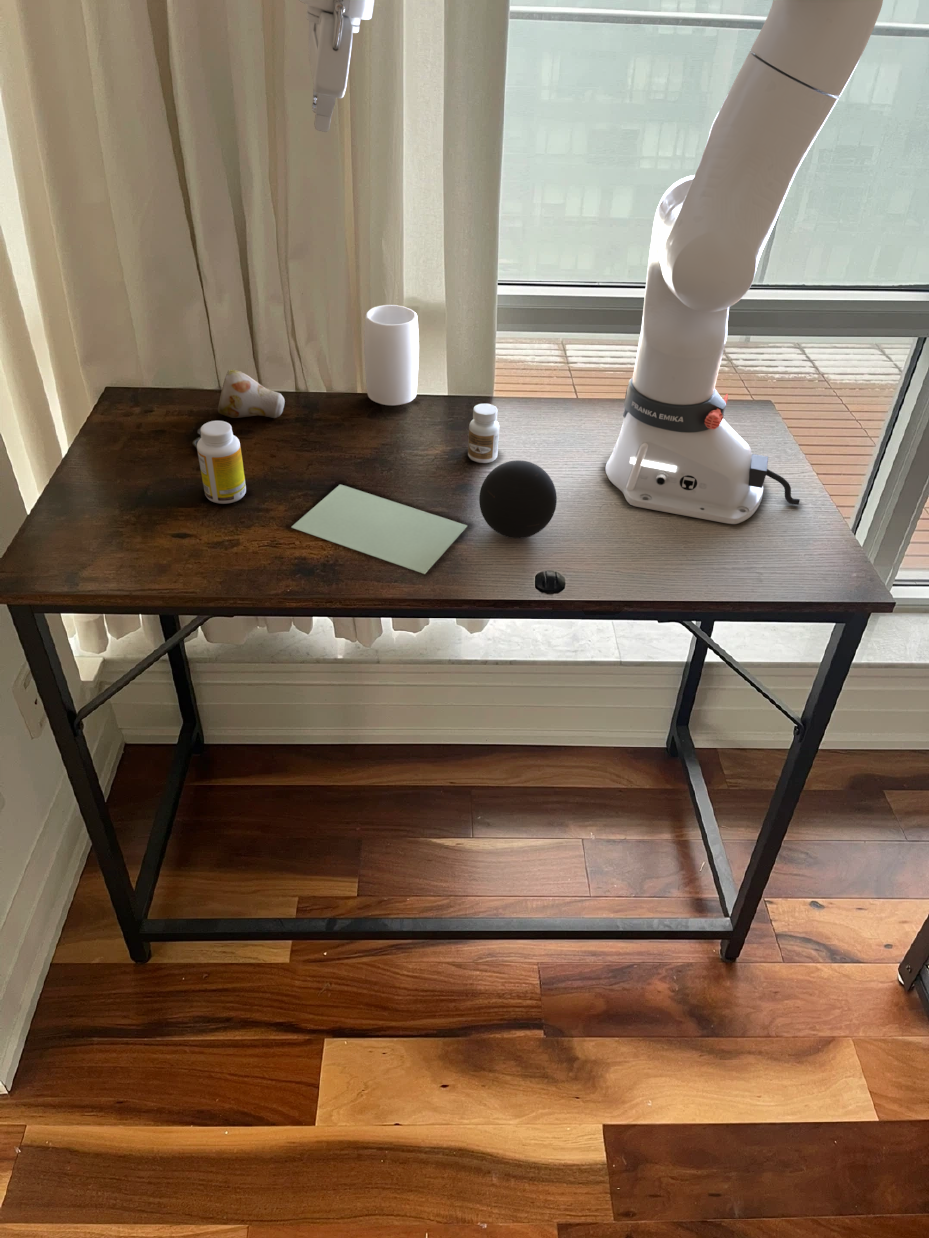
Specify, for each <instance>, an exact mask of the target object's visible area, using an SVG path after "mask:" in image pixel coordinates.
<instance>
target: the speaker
mask: <svg viewBox="0 0 929 1238" xmlns="http://www.w3.org/2000/svg"><path fill="white" fill-rule="evenodd" d="M557 499H558V497H557V490H556V487H555V483H554V482H553V480H552V478H551V477H550V475H549V474H548V473H547V471H546V470H544V469H543V468H542V467H541V466H539V465H538V464H537V463H536V464H535V463H533V462H531V461H527V460H519V459H518V460H509V461H506V462H503V463H501V464H499V465H498V466H496V467H494V468H493V469H492V470H491V471H490V472H489V473H488V474H487V476H486V477H485V478H484V480H483V482H482V485H481V487H480V490H479V495H478V502H479V503H478V504H479V509H480V512H481V515H482V517H483V519H484V521H485V523H486V524H487V525H488V526H489V527H490V528H491V529H492V530H493V531H495V533H497V534H499V535H501V536H503V537H506V538H509V539H510V538H511V539H525V538H529V537H532V536H535V535H536V534H539V532H541V531H542V530H544V529H545V528H546V527H547V525H549V523H550V522H551V520H552V518H553V516H554V515H555V512H556V508H557V503H558V501H557Z"/></svg>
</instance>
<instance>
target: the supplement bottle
mask: <svg viewBox="0 0 929 1238" xmlns="http://www.w3.org/2000/svg"><path fill="white" fill-rule="evenodd" d="M200 428H201V439H200V440H199V441H198V443H197V448H196V451H197V457H198V462H199V468H200V469H199V470H200V475H201V481H202V486H203V491H204V495H205V497H206V498H207V499H208V500H209V501H210V502H211V503H212V502H213V503H216V504H220V505H227V504H232V503H236V502H238V501H240V500H242V498H244V496H245V494H246V493H247V485H246V476H245V470H244V462H243V455H242V448H241V443H240V439H239V438H238V437H237V436H236V435H234V432H233V427H232V425H231V424H230V423H229V422H227V421H224V420H211V421H208V422H206V423H204V424H203V425H201V426H200Z"/></svg>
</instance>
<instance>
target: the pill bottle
mask: <svg viewBox="0 0 929 1238" xmlns="http://www.w3.org/2000/svg"><path fill="white" fill-rule="evenodd" d="M472 418H473V419H472V420H471V421H470V422H469V426H468V444H467V456H468V458H469V459H470V461H473V462H476V463H479V464H488V463H493V462H494V461H495V460H496V459H497V458H498V452H499V439H500V424H499V421H498V408H497V406H495V405H493V404H490V403H478V404H476V405H474V407H473V410H472Z"/></svg>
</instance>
